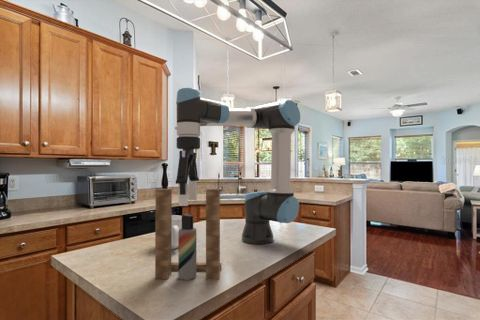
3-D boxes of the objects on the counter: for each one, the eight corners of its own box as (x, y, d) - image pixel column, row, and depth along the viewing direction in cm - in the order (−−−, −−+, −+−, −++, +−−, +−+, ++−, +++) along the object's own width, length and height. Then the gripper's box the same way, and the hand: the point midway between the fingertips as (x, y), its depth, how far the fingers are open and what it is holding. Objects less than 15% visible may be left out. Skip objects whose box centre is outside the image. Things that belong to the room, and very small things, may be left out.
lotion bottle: (179, 273, 88) (179, 212, 89) (197, 272, 89) (197, 212, 89) (177, 280, 83) (177, 215, 83) (195, 280, 83) (195, 215, 84)
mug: (190, 250, 112) (190, 219, 112) (164, 255, 106) (164, 222, 106) (177, 242, 125) (178, 214, 125) (154, 246, 118) (154, 216, 119)
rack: (221, 268, 92) (221, 187, 93) (218, 279, 83) (218, 189, 84) (164, 268, 93) (164, 187, 94) (155, 279, 84) (155, 189, 85)
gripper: (185, 140, 99) (185, 197, 99) (165, 132, 74) (165, 208, 74) (205, 140, 99) (205, 197, 99) (192, 131, 74) (192, 208, 74)
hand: (188, 202), depth 86 cm, fingers open, 13 cm apart
